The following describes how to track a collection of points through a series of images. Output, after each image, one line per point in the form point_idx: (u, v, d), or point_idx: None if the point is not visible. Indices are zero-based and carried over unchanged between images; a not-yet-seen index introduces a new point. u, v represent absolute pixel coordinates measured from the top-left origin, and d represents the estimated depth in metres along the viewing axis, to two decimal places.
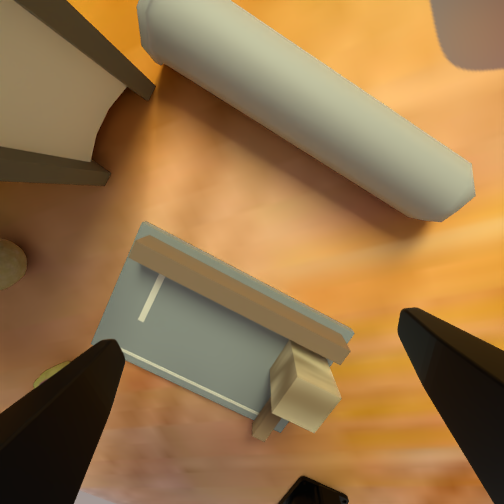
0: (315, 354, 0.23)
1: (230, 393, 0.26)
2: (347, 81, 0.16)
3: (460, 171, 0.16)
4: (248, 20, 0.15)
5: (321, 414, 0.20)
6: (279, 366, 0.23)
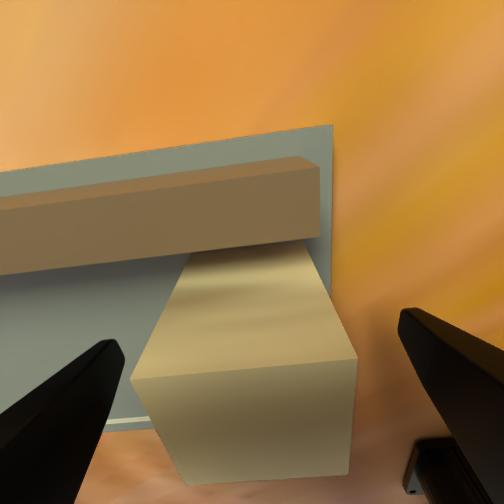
0: (267, 251, 0.08)
1: None
2: None
3: None
4: None
5: (327, 432, 0.05)
6: None
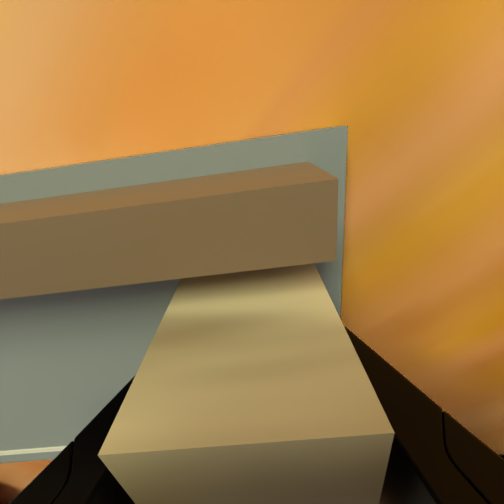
0: (270, 269, 0.07)
1: None
2: None
3: None
4: None
5: None
6: None
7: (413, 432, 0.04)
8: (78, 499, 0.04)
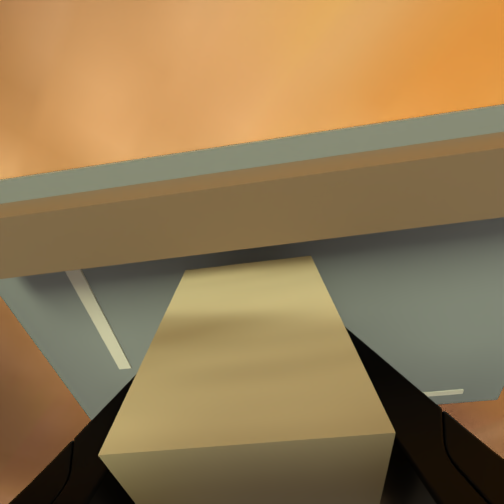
0: (271, 269, 0.07)
1: None
2: None
3: None
4: None
5: None
6: None
7: (413, 432, 0.04)
8: (78, 499, 0.04)
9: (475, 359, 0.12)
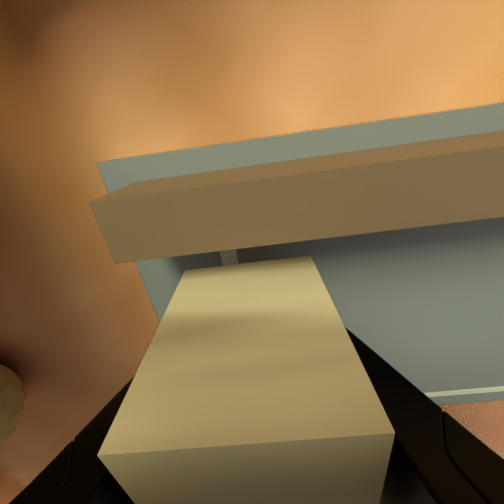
0: (270, 269, 0.07)
1: (487, 379, 0.12)
2: None
3: None
4: None
5: None
6: None
7: (413, 432, 0.04)
8: (78, 499, 0.04)
9: None
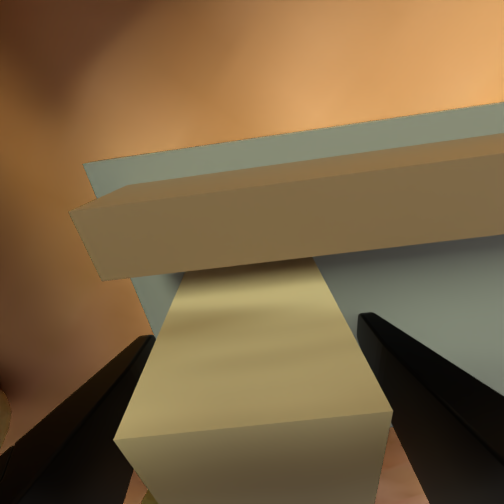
0: (271, 264, 0.07)
1: None
2: None
3: None
4: None
5: (349, 485, 0.04)
6: None
7: (491, 426, 0.04)
8: None
9: None
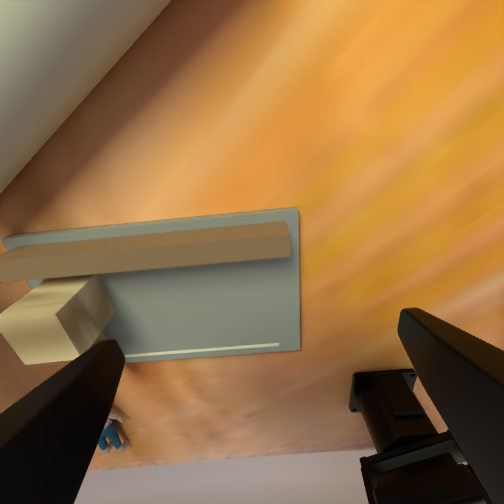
0: (78, 277, 0.19)
1: (225, 341, 0.23)
2: None
3: None
4: None
5: (62, 340, 0.16)
6: None
7: None
8: None
9: (278, 325, 0.22)
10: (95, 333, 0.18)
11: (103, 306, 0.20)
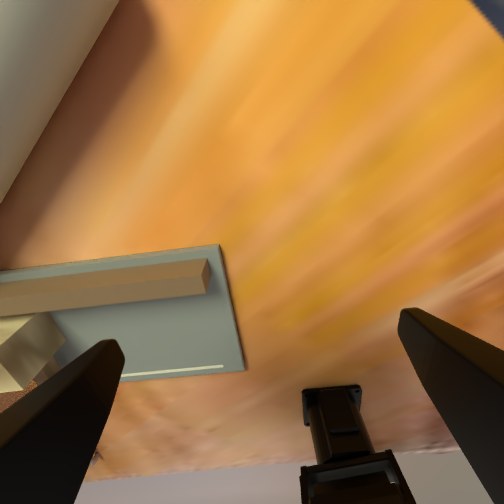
0: None
1: (172, 364, 0.25)
2: None
3: None
4: None
5: (2, 374, 0.18)
6: None
7: None
8: None
9: (219, 349, 0.24)
10: (40, 364, 0.20)
11: (51, 337, 0.21)
